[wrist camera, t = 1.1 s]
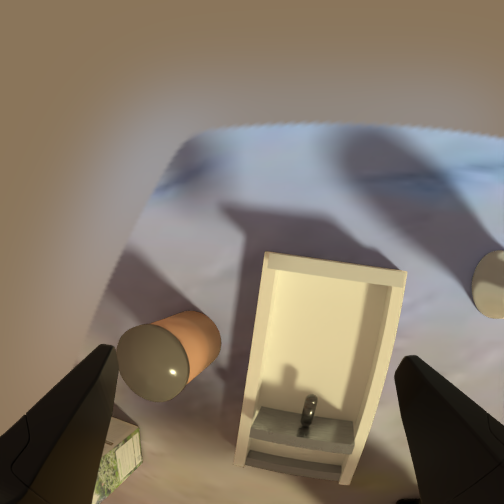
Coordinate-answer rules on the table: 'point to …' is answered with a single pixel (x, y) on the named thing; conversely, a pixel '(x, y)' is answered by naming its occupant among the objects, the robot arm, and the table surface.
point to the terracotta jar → (167, 354)
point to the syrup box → (117, 458)
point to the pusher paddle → (304, 429)
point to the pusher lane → (319, 355)
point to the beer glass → (489, 285)
